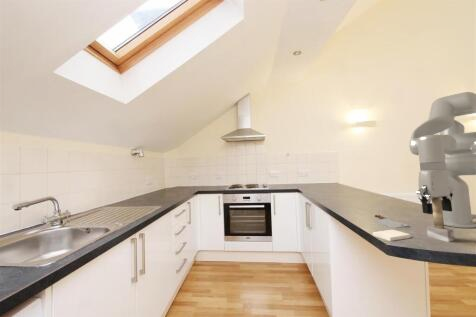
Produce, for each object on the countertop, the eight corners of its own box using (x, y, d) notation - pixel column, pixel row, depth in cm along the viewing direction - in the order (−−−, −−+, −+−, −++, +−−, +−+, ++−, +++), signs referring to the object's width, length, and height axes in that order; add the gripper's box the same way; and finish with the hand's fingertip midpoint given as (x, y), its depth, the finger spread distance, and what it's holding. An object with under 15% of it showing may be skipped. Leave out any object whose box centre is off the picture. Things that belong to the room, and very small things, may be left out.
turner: (433, 235, 87) (428, 194, 88) (454, 240, 80) (449, 196, 81) (427, 236, 86) (423, 195, 87) (448, 241, 79) (443, 197, 80)
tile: (391, 229, 94) (372, 232, 91) (410, 234, 86) (389, 237, 84) (392, 233, 94) (372, 236, 91) (411, 238, 86) (390, 242, 84)
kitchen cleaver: (363, 215, 125) (382, 214, 123) (363, 217, 124) (382, 216, 123) (387, 227, 100) (410, 225, 99) (387, 229, 100) (411, 228, 99)
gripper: (438, 166, 90) (442, 208, 90) (405, 168, 86) (410, 212, 85) (460, 165, 83) (465, 211, 82) (426, 168, 79) (431, 216, 78)
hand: (437, 212), depth 84 cm, fingers open, 9 cm apart
